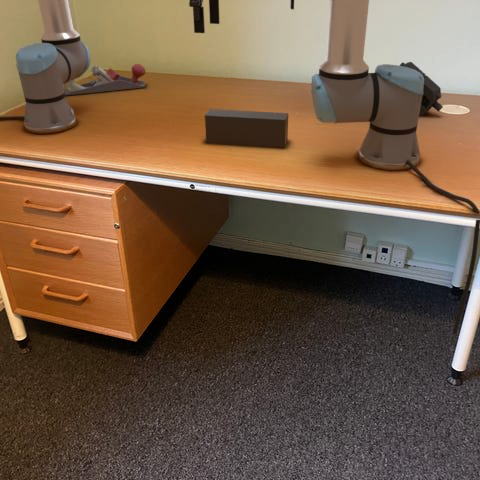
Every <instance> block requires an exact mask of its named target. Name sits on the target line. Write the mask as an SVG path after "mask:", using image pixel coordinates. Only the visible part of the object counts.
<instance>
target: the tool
mask: <svg viewBox="0 0 480 480" xmlns="http://www.w3.org/2000/svg"><path fill="white" fill-rule="evenodd" d="M398 66H403V67H408V68H411V69H414V70H416V71H418V72H420V73H421V74H422V75H423V77H424V86H423V92H424V93H423V95H422V101H421V107H420V112H419V116H423V115H424V114H426V113H427V112H429V111H430V110H431V109H432V108H433V109H434V110H436V111H437V112H440V111H441V110H442V109H443V107H444V106H443V105H442V104H441V103H440V102H438V101H439V100H441V98H442V96H443V95H442V91H441V87H440V86H439V85H438V84H437V83H436V82H435V81H434V80H433V79H431V78H430V77H429V76H428V75H426V73H425V72H423V70H422V69H420V67H418V66H417V65H416V64H414V62H412V61H407V62H406V63H405V62H403V61H402V62H401V63H400V64H399V65H398Z"/></svg>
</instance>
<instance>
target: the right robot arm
mask: <svg viewBox="0 0 480 480" xmlns="http://www.w3.org/2000/svg"><path fill="white" fill-rule="evenodd" d="M369 4H370V0H329V10H328V11H329V13H328V25H327V26H328V27H327V29H328V30H327V42H326V55H325V56H326V57H325V60H323V61H322V62H321V63H320V64H319V68H318V73H315V74H312V76H311V84H310V85H311V99H312V106H313V111H314V114H315V118H316V119H317V120H318V121H319V122H320V123H323V124H334V125H337V124H350V123H351V124H353V123H369V126H368V130H367V132H366V135H364V136H365V137H364V138H363V141H362V143H361V145H360V147H359V151H358V159H359V160H360V162H362V163H363V164H364V165H367V166H369V167H372V168H374V169H378V170H385V171H403V170H408V169H412V170H413V172H415V174H417V176H419V178H421V179H422V181H423V182H424V183H425V184H426V185H427V186H428V187H429V188H430V189H432V190H434V191H435V192H437V193H439V194H442V195H444V196H446V197H448V198H450V199H453V200H455V201H460V202H463V203H465V204H468V205H469V206H470V207H471V209H472V210H473V212H474V213H475V214H477V215H480V211H479V208H478V207H477V205H476V204H475V203H474V201H472V200H470V199H469V198H467V197H463V196H459V195H457V194H453V193H452V192H449V191H447V190H445V189H442V188H440V187H439V186H436V185H435V184H433V183H432V182H431V181H430V180H429V179H428V178H427V177H426V175H424V174H423V173H422V172H421V171H420V170H419V169H418V168H417V166H418V164H419V163H420V158H421V153H420V151H421V150H420V146H419V140H418V135H417V130H418V124H419V119H420V115H419V112H420V107H421V101H422V95H423V93H424V92H423V86H424V77H423V75H422V74H421V73H420V72H418V71H416V70H414V69H411V68H408V67H403V66H399V65H398V64H386V63H385V64H379V65H377V66H376V68H375V69H374V72H369V69H370V67H369V65H368V64H367V62H366V61H365V60H364V57H365V55H364V54H365V46H366V45H365V44H366V35H367V26H368V25H367V24H368V15H369ZM290 10H295V0H290ZM474 224H475V225H474V233H473V245H472V250H471V251H472V252H471V257H470V263H469V267H468V268H469V269H468V273H467V278H466V282H465V286H464V289H463V293H462V296H461V299H460V304H459V307H458V309H457V313H456V317H455V321H454V325H453V330H452V334H454V335H457V334H458V330H459V326H460V322H461V318H462V315H463V311H464V308H465V305H466V301H467V297H468V294H469V290H470V286H471V283H472V280H473V279H472V278H473V275H474V270H475V265H476V259H477V252H478V247H479V246H478V245H479V234H480V219H475V223H474Z"/></svg>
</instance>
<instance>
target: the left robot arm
mask: <svg viewBox="0 0 480 480" xmlns="http://www.w3.org/2000/svg"><path fill="white" fill-rule="evenodd" d="M37 2H38V7H39V12H40V16H41V21H42V26H43V33H42V35H41V36H40V41H41V42H40V43H39V42H37V43H33V44H29V45H24V46H23V47H21V48H20V49H18V50H17V52H16V53H15V62H16V69H17V72H18V76H19V81H20V85H21V89H22V92H23V96H24V101H25V111H24V115H12V116H0V120H4V121H6V120H8V121H9V120H23V124H24V129H25V130H26V132H29V133H31V134H36V135H37V134H38V135H39V134H40V135H47V134H49V135H50V134H57V133H60V132H64V131H67V130H70V129H72V128H73V127H75V126H76V125H77V117H76V115H75V111H74V109H73V107H71V105H70V104H69V102H68V100H67V98H66V95H65V92H64V85H63V84H65V83H67V82H69V81H71V80H73V79H74V80H76V79H78V78H80V77H82V75H84V74H85V73H87V71H88V69H89V68H90V65H91V53H90V50H89V47H88V46H87V45H86V44H85V42H84V40H82V39H81V34H80V33H79V32H78V31H77V30H75V28H74V25H73V19H72V14H71V8H70V3H69V0H37ZM203 2H204V0H189V3H188V7H190V8H192V13H193V14H192V16H193V31H194V32H193V33H194V34H205V33H206V31H205V30H206V29H205V11H204V10H205V9H204V6H203ZM208 10H209V24H211V25H220V0H208Z"/></svg>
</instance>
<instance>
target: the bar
mask: <svg viewBox="0 0 480 480" xmlns="http://www.w3.org/2000/svg"><path fill="white" fill-rule="evenodd" d="M204 125H205V143H206V144H215V145H227V146H228V145H229V146H244V147H258V148H259V147H260V148H273V149H274V148H275V149H285V148H286V145H287V143H288V140H289V139H288V137H289V113H288V112H272V111H253V110H234V109H233V110H232V109H215V108H210V109H209V110H208V111H207V112H206V113H205V114H204Z"/></svg>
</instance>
